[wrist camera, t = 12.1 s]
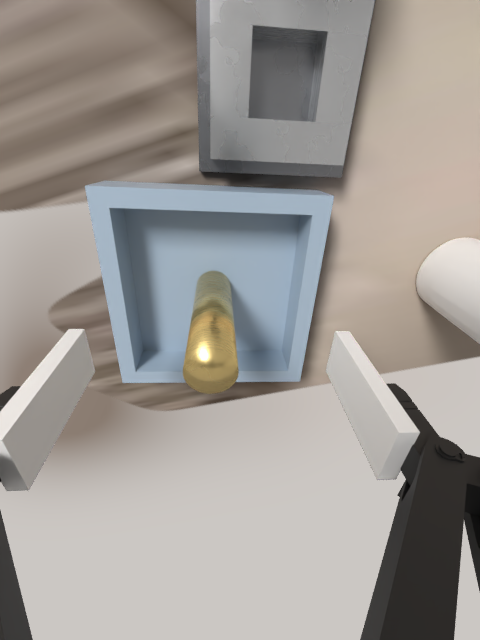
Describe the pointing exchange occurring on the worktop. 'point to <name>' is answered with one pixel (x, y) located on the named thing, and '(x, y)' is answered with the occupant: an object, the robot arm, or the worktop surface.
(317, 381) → the worktop surface
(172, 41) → the worktop surface
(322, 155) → the tensioner
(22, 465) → the robot arm
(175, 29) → the worktop surface
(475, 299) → the mug
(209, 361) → the pin
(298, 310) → the tray
